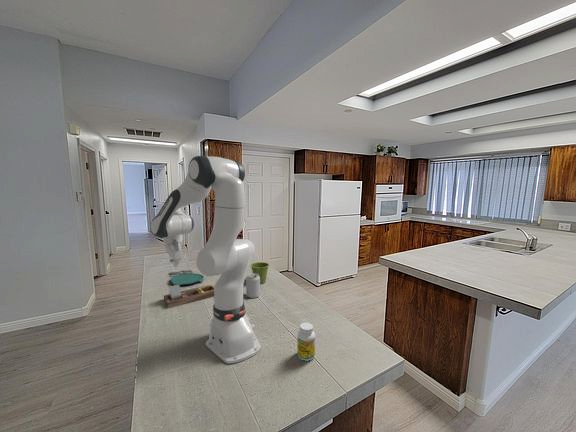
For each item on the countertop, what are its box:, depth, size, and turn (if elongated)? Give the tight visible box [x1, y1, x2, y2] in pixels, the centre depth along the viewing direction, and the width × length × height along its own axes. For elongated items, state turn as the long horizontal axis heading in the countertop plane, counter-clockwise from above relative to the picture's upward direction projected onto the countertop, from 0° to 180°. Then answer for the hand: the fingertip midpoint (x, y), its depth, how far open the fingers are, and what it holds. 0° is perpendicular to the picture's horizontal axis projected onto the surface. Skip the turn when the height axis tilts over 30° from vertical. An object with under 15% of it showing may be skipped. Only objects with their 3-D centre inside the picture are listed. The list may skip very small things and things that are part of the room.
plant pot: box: [249, 261, 270, 284], centre depth 155 cm, size 12×12×11 cm
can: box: [245, 272, 261, 299], centre depth 135 cm, size 8×8×12 cm
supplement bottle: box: [296, 322, 316, 362], centre depth 87 cm, size 6×6×11 cm
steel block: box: [168, 284, 182, 301], centre depth 127 cm, size 5×5×8 cm
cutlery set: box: [168, 269, 205, 287], centre depth 160 cm, size 20×30×2 cm, turn 34°
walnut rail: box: [163, 283, 215, 309], centre depth 133 cm, size 11×26×3 cm, turn 127°
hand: (174, 264), depth 125 cm, fingers open, 8 cm apart
